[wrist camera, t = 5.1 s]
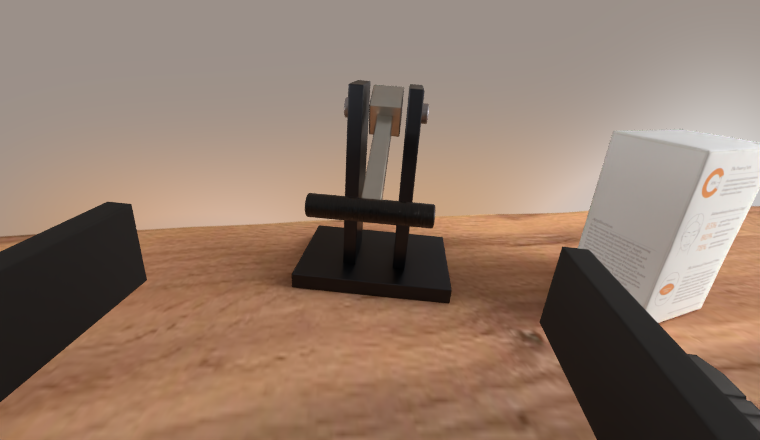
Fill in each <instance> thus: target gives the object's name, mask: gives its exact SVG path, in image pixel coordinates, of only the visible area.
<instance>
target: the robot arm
mask: <svg viewBox="0 0 760 440" xmlns="http://www.w3.org/2000/svg"><path fill="white" fill-rule="evenodd" d="M146 280H147V278H146V273H145V268H144V264H143V259H142V254H141V249H140V244H139V239H138V234H137V230H136V225H135V220H134V215H133V210H132V206H131V204H125V203H115V202H106V203H104V204H102V205H100V206H97V207H95V208H93V209H91V210H89V211H87V212H85V213H82V214H80V215H78V216H76V217H74V218H72V219H70V220H67V221H65V222H63V223H61V224H59V225H57V226H54V227H52V228H50V229H48V230H46V231H44V232H42V233H39V234H37V235H35V236H33V237H31V238H29V239H27V240H24V241H22V242H20V243H18V244H16V245H14V246H12V247H9V248H7V249H5V250H3V251H1V252H0V402H1V401H2V400H3V399H5V398H6V397H7V396H8V395H9V394H11V393H12V392H13V391H14V390H15V389H17V388H18V387H19V386H20V385H21V384H23V383H24V382H25V381H26V380H27V379H29V378H30V377H31V376H32V375H33V374H35V373H36V372H37V371H38V370H39V369H41V368H42V367H43V366H44V365H45V364H47V363H48V362H49V361H50V360H51V359H53V358H54V357H55V356H56V355H58V354H59V353H60V352H61V351H62V350H64V349H65V348H66V347H67V346H68V345H70V344H71V343H72V342H73V341H74V340H76V339H77V338H78V337H79V336H80V335H82V334H83V333H84V332H85V331H86V330H88V329H89V328H90V327H91V326H92V325H94V324H95V323H96V322H97V321H98V320H100V319H101V318H102V317H103V316H104V315H106V314H107V313H108V312H109V311H110V310H112V309H113V308H114V307H115V306H116V305H118V304H119V303H120V302H121V301H122V300H124V299H125V298H126V297H127V296H128V295H130V294H131V293H132V292H133V291H134V290H136V289H137V288H138V287H139V286H140V285H142V284H143V283H144V282H145V281H146ZM540 324H541V326H542V328H543V330H544V332H545V334H546V336H547V338H548V340H549V343H550V345H551V347H552V349H553V351H554V353H555V355H556V357H557V359H558V361H559V363H560V365H561V367H562V369H563V371H564V373H565V375H566V377H567V379H568V381H569V383H570V385H571V387H572V390H573V392H574V394H575V396H576V398H577V400H578V402H579V404H580V406H581V408H582V410H583V412H584V414H585V416H586V418H587V420H588V422H589V424H590V426H591V428H592V430H593V432H594V435H595V437H596V439H597V440H760V410H759V409H758V408H757V407H756V406H755V405H754V404H753V403H752V402H751V401H747V400H746V396H745V395H744V394H743V393H742V392H741V391H740V390H739V389H738V388H737V387H736V386H735V385H734V384H733V383H732V382H731V381H730V380H729V379H728V378H727V377H726V376H725V375H724V374H723V373H721V372H720V371H718V370H717V369H716V368H714V367H713V366H711V365H710V364H708V363H707V362H705V361H704V360H703V359H701V358H700V357H698V356H697V355H692V354H686V353H685V352H684V350H683V349H682V348H681V347H680V346H679V345H678V344H677V343H676V342H675V341H674V340H673V339H672V338H671V337H670V336H669V334H668V333H667V332H666V331H665V330H664V329H663V328H662V327H661V326H660V325H659V324H658V323H657V322H656V321H655V320H654V318H653V317H652V316H651V315H650V314H649V313H648V312H647V311H646V310H645V309H644V308H643V307H642V306H641V305H640V304H639V302H638V301H637V300H636V299H635V298H634V297H633V296H632V295H631V294H630V293H629V292H628V291H627V290H626V289H625V288H624V286H623V285H622V284H621V283H620V282H619V281H618V280H617V279H616V278H615V277H614V276H613V275H612V274H611V273H610V272H609V270H608V269H607V268H606V267H605V266H604V265H603V264H602V263H601V262H600V261H599V260H598V259H597V258H596V257H595V255H594V254H593V253H592V252H591V251H590V250H589V249H579V248H569V247H562V250H561V253H560V256H559V260H558V263H557V266H556V270H555V273H554V276H553V279H552V283H551V286H550V289H549V293H548V296H547V299H546V303H545V306H544V309H543V313H542V316H541V319H540Z"/></svg>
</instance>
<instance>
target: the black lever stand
mask: <svg viewBox="0 0 760 440" xmlns="http://www.w3.org/2000/svg"><path fill="white" fill-rule="evenodd" d="M348 90H349V91H348V97H347V98H346V99H345V104H344V115H345V117H348V122H347V152H346V154H347V155H346V184H345V196H348V197H359V198H362V193H363V187H364V182H365V174H366V155H367V153H366V152H367V136H368V118H369V98H370V81H362V80H358V81H355V82H352V83H350V84H349V89H348ZM423 99H424V88H423V86H422V85H413V84H411V85H410V87H409V97H408V107H407V118H406V129H405V139H404V150H403V161H402V172H401V182H400V194H399V201H402V202H412V200H413V190H414V182H415V172H416V163H417V154H418V144H419V136H420V127H421V123H422V124H426V123H427V120H428V111H429V104H424V103H423ZM409 227H410V226H401V225H396V233H394V232H383V231H373V230H363V222H358V221H348V220H344V228H341V227H331V226H320V225H319V226H318V228H317V230H316V232H315V234H314V235H313V237H312V239H311V241H310V242H309V244H308V246H307V248H306V250H305V251H304V253H303V255H302V257H301V259H300V260H299V262H298V264H297V266H296V267H295V269H294V271H293V273H292V287H297V288H307V289H316V290H326V291H336V292H345V293H355V294H364V295H374V296H384V297H393V298H403V299H413V300H422V301H432V302H442V303H450V297H451V291H452V290H451V284H450V278H449V272H448V266H447V260H446V254H445V248H444V242H443V237H436V236H425V235H415V234H409Z"/></svg>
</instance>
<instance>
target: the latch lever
mask: <svg viewBox="0 0 760 440" xmlns="http://www.w3.org/2000/svg"><path fill="white" fill-rule="evenodd" d="M403 92H404V87H397V86H384V85H374V87H373V91H372V96H371V100H370V105H369V134H373V140H372V145H371V150H370V156H369V161H368V166H367V171H366V177H365V182H364V187H363V193H362V198H359V197H348V196H336V195H326V194H315V193H309V194H308V195H307V197H306V201H305V214H306V216H307V217H316V218H327V219H337V220H348V221H358V222H369V223H379V224H390V225H401V226H411V227H422V228H433V226H434V220H435V205H434V204H424V203H413V202H402V201H391V200H382V198H383V191H384V183H385V176H386V169H387V162H388V154H389V147H390V140H391V136H397V137H398V136H399V134H400V125H401V116H402V104H403Z"/></svg>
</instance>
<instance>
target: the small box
mask: <svg viewBox="0 0 760 440" xmlns="http://www.w3.org/2000/svg"><path fill="white" fill-rule="evenodd" d="M759 188H760V143H759V142H754V141H749V140H744V139H738V138H732V137H727V136H721V135H715V134H709V133H702V132H696V131H689V130H683V129H672V130H671V129H670V130H635V131H633V130H631V131H613V134H612V137H611V141H610V143H609V147H608V150H607V154H606V157H605V160H604V163H603V167H602V170H601V173H600V177H599V180H598V183H597V187H596V190H595V193H594V196H593V200H592V203H591V206H590V209H589V213H588V216H587V219H586V223H585V226H584V229H583V233H582V236H581V239H580V242H579V246H578V248H579V249H589V250H590V251H591V252H592V253H593V254H594V255H595V257H596V258H597V259H598V260H599V261H600V262H601V263H602V264H603V265H604V266H605V267H606V268H607V269H608V270H609V272H610V273H611V274H612V275H613V276H614V277H615V278H616V279H617V280H618V281H619V282H620V283H621V284H622V285H623V286H624V288H625V289H626V290H627V291H628V292H629V293H630V294H631V295H632V296H633V297H634V298H635V299H636V300H637V301H638V302H639V304H640V305H641V306H642V307H643V308H644V309H645V310H646V311H647V312H648V313H649V314H650V315H651V316H652V317H653V318H654V320H655V321H656V322H657V323H660V322H662V321H665V320H668V319H671V318H674V317H677V316H680V315H683V314H686V313H689V312H691V311H694V310H697V309H700V308H701V307H702V305H703V303H704V300H705V298H706V296H707V294H708V292H709V290H710V288H711V286H712V284H713V282H714V280H715V278H716V275H717V273H718V271H719V269H720V267H721V265H722V263H723V261H724V259H725V257H726V255H727V253H728V251H729V249H730V247H731V245H732V243H733V241H734V239H735V237H736V235H737V233H738V231H739V229H740V227H741V225H742V223H743V221H744V219H745V217H746V215H747V213H748V211H749V209H750V207H751V205H752V203H753V201H754V199H755V197H756V195H757V192H758V191H759Z"/></svg>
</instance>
